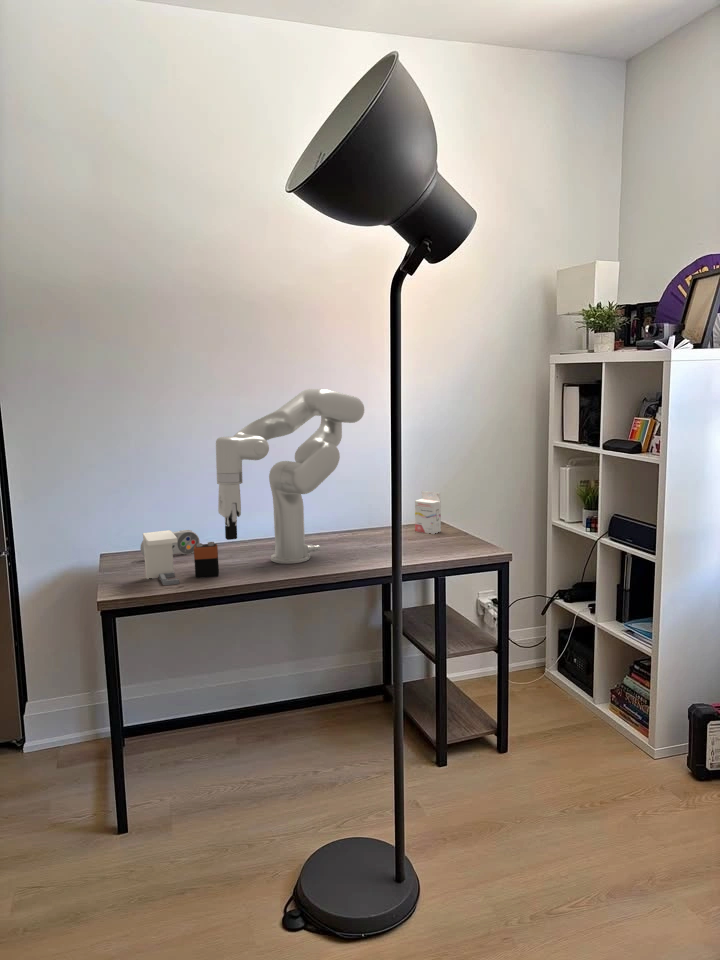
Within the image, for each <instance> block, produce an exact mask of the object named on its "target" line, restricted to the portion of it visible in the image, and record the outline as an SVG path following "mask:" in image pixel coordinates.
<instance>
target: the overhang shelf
mask: <svg viewBox="0 0 720 960" xmlns="http://www.w3.org/2000/svg"><path fill="white" fill-rule="evenodd" d="M172 532H173V531H172V530H170V529H169V530H168V529H167V530H160V531H159V530H158V531H152V532H142V539H143V540H142V541H143V542H144V556H145V557H144V556H143V557H144V567H145V568H144V569H145V579H146V580H150V579H149V578H152V579H159V580H161V581H160V582H161V584H162V585H165V586H172V585H179V584H180V578H175V577H176V576H175V575H176V574H175V567H174V554H173V551H172V543H176V542H177V537H176V536H175V535H174V534H173V533H172ZM158 577H159V578H158ZM168 578H174V579H168Z"/></svg>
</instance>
